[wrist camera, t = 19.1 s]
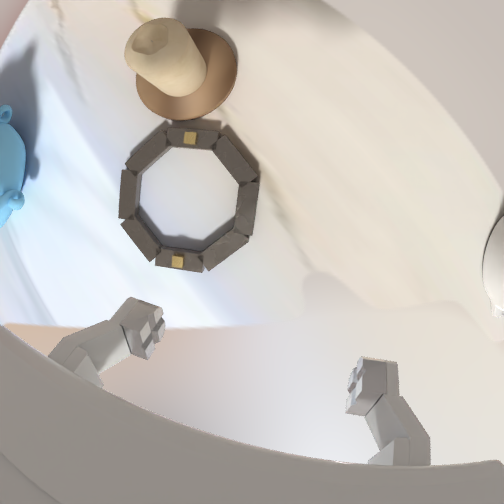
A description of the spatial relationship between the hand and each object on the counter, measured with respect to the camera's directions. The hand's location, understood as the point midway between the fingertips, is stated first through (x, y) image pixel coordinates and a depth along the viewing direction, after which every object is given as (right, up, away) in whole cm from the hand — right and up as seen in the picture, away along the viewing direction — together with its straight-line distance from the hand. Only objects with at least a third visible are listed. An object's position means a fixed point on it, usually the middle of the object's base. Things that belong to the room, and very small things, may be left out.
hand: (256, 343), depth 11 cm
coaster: (-7, +23, +17) cm, 29 cm away
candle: (-8, +22, +16) cm, 28 cm away
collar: (-7, +9, +20) cm, 23 cm away
